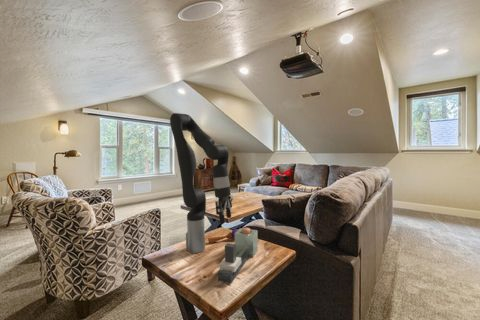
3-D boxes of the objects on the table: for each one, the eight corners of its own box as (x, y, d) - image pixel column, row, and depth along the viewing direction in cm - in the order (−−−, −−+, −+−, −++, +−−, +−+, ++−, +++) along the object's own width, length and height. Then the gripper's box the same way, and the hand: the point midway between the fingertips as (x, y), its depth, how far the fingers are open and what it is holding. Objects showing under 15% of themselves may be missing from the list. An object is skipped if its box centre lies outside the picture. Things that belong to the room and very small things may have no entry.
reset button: (240, 237, 113) (240, 230, 113) (243, 234, 117) (243, 227, 117) (248, 238, 112) (248, 231, 112) (251, 235, 116) (251, 228, 116)
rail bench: (235, 284, 87) (235, 258, 87) (213, 279, 91) (213, 254, 90) (257, 250, 117) (257, 230, 116) (240, 247, 120) (240, 228, 120)
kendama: (207, 234, 130) (238, 227, 137) (208, 245, 129) (239, 237, 136) (209, 236, 124) (241, 228, 131) (210, 247, 124) (243, 238, 131)
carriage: (234, 275, 90) (234, 250, 90) (219, 272, 93) (219, 247, 92) (241, 265, 98) (241, 242, 97) (227, 263, 100) (226, 240, 100)
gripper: (220, 185, 111) (224, 216, 111) (208, 189, 98) (212, 225, 98) (234, 183, 109) (237, 216, 109) (223, 187, 96) (227, 224, 95)
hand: (225, 220), depth 103 cm, fingers open, 8 cm apart
